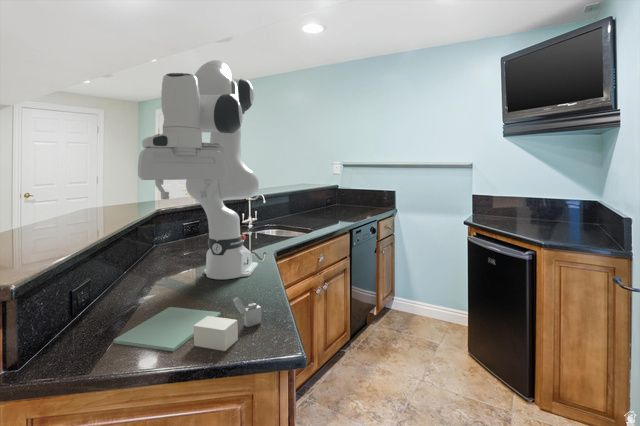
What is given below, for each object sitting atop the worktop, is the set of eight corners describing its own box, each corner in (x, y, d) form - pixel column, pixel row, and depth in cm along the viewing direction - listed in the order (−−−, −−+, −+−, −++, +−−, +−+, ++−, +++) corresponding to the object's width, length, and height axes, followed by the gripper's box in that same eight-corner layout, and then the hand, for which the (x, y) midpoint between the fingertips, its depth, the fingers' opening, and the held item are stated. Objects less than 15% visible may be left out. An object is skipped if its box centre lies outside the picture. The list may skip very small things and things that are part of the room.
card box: (208, 335, 88) (207, 315, 87) (238, 340, 85) (237, 319, 85) (194, 346, 82) (193, 325, 82) (225, 351, 80) (224, 330, 79)
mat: (169, 309, 103) (169, 306, 103) (220, 315, 99) (220, 312, 99) (113, 343, 84) (113, 339, 84) (173, 351, 80) (173, 348, 80)
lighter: (258, 320, 95) (257, 291, 94) (261, 322, 94) (260, 293, 93) (233, 328, 91) (232, 297, 90) (236, 330, 90) (235, 299, 89)
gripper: (219, 144, 97) (221, 196, 98) (134, 140, 85) (138, 199, 86) (228, 142, 92) (230, 197, 93) (139, 138, 80) (143, 201, 81)
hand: (185, 198), depth 89 cm, fingers open, 8 cm apart
